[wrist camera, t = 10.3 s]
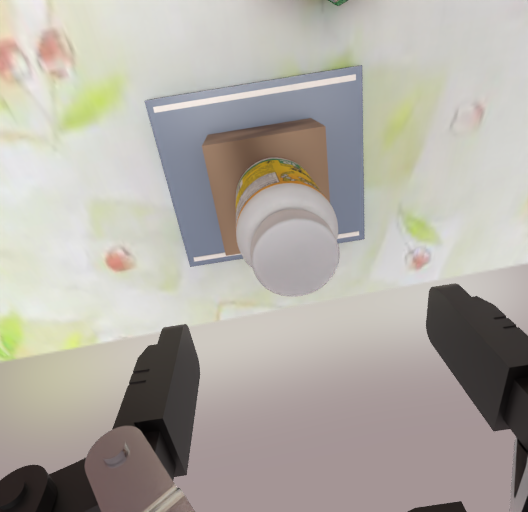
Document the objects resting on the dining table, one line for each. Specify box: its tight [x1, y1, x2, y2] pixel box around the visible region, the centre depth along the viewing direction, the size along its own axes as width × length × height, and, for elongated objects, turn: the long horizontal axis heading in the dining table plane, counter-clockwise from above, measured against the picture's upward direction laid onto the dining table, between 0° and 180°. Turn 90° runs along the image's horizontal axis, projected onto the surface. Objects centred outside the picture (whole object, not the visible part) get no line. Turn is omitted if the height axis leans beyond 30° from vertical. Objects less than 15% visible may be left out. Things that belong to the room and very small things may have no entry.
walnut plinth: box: [202, 118, 330, 256], centre depth 27 cm, size 8×8×5 cm
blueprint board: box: [145, 65, 364, 267], centre depth 29 cm, size 16×14×1 cm
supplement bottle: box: [235, 157, 340, 296], centre depth 20 cm, size 5×5×10 cm
